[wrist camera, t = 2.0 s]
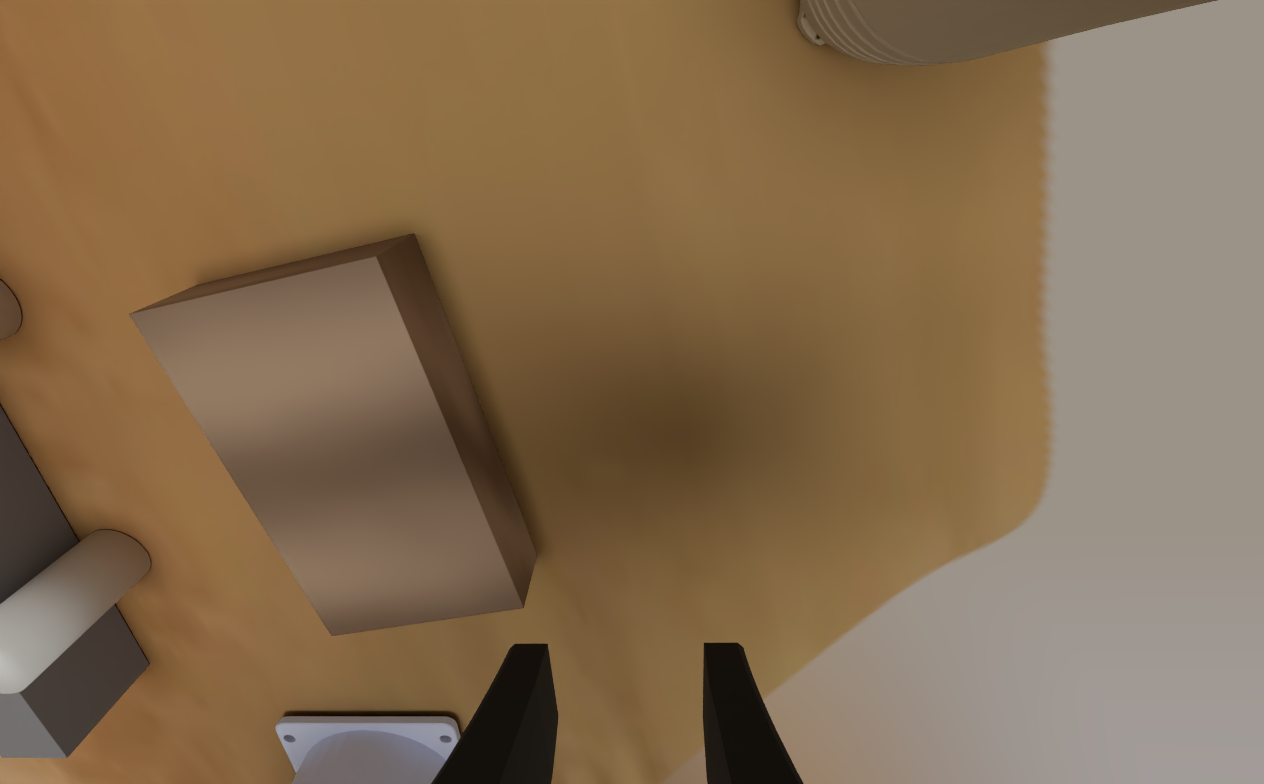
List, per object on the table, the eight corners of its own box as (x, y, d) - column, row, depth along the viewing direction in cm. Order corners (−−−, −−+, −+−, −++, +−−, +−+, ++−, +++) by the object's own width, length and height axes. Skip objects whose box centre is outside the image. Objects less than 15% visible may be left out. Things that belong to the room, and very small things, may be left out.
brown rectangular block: (539, 546, 23) (523, 607, 20) (368, 573, 24) (331, 636, 21) (418, 230, 17) (376, 256, 15) (205, 281, 18) (128, 314, 16)
